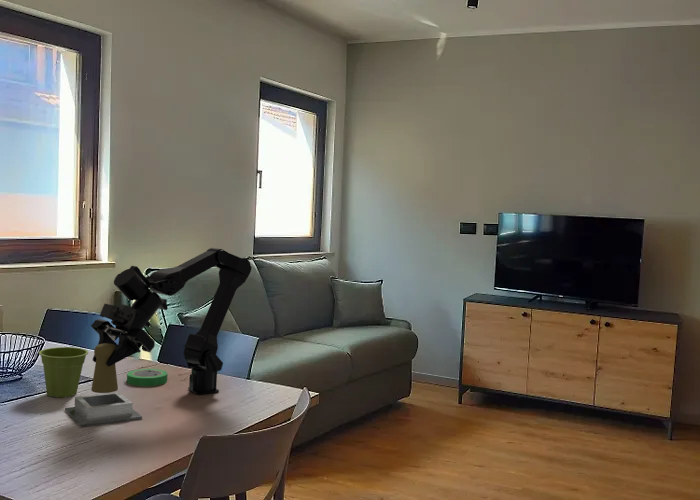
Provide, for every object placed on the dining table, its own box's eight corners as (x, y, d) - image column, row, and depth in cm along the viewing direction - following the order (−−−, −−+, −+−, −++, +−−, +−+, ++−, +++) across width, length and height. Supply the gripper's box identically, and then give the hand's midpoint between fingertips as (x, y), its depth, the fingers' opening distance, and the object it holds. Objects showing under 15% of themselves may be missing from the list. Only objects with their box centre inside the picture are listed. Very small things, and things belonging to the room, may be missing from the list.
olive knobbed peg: (100, 394, 162) (102, 348, 161) (86, 389, 166) (87, 343, 165) (123, 389, 167) (124, 344, 166) (108, 384, 171) (109, 340, 170)
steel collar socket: (122, 403, 176) (123, 389, 176) (142, 418, 165) (142, 404, 165) (64, 410, 168) (65, 395, 168) (81, 427, 157) (81, 411, 157)
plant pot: (56, 403, 173) (58, 359, 172) (27, 394, 179) (29, 351, 178) (96, 394, 183) (98, 352, 182) (67, 385, 189) (69, 344, 188)
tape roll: (119, 381, 198) (119, 371, 198) (152, 375, 206) (153, 366, 206) (140, 389, 191) (141, 380, 191) (174, 383, 199) (175, 374, 199)
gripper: (98, 286, 173) (56, 336, 165) (145, 296, 162) (103, 349, 154) (125, 314, 180) (85, 363, 172) (171, 325, 169) (132, 378, 161)
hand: (100, 363), depth 165 cm, fingers closed on olive knobbed peg, 5 cm apart
